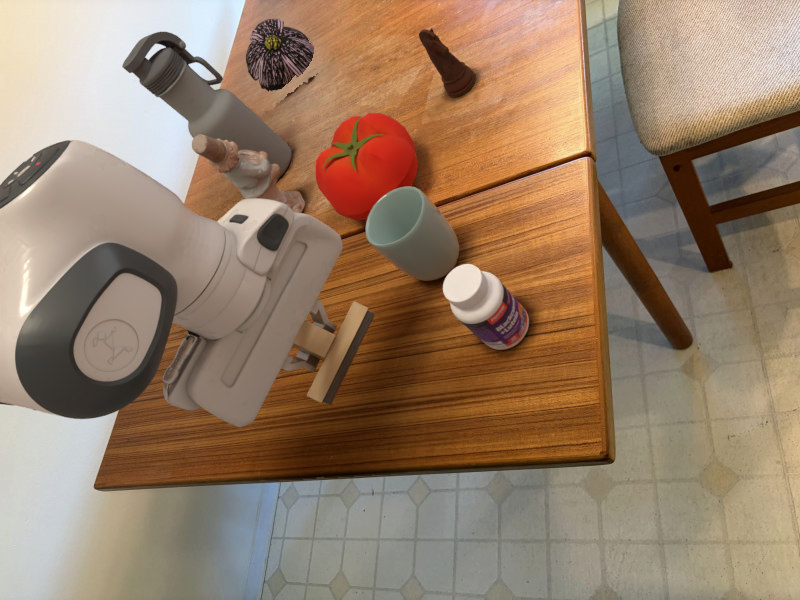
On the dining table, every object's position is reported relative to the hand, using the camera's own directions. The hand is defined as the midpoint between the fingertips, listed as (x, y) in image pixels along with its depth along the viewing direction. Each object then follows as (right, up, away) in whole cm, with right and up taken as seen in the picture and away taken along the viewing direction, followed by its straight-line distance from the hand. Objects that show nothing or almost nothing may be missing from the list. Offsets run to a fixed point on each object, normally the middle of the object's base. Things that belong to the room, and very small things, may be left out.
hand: (322, 347), depth 57 cm
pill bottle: (+19, +2, +1) cm, 19 cm away
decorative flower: (-12, +50, +56) cm, 76 cm away
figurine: (-10, +19, +34) cm, 40 cm away
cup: (+13, +9, +10) cm, 19 cm away
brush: (+3, -1, -2) cm, 4 cm away
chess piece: (+17, +36, +24) cm, 46 cm away
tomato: (+6, +21, +22) cm, 31 cm away
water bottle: (-15, +29, +44) cm, 55 cm away
